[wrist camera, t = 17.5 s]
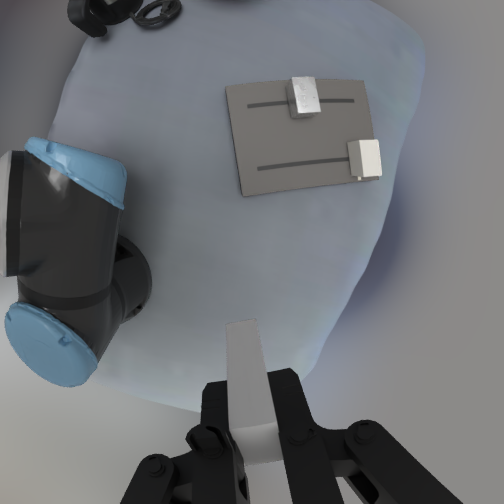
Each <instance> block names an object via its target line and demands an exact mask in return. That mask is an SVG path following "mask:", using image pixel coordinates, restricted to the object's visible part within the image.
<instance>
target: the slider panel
mask: <svg viewBox="0 0 504 504" xmlns="http://www.w3.org/2000/svg"><path fill="white" fill-rule="evenodd" d="M288 82H289V80H282V81H268V82H257V83H248V84H239V85H232V86H225V88H226V98H227V104H228V110H229V117H230V123H231V129H232V136H233V142H234V148H235V154H236V161H237V167H238V173H239V179H240V186H241V192H242V196H243V197H245V196H251V195H258V194H264V193H271V192H278V191H285V190H292V189H299V188H307V187H315V186H323V185H332V184H341V183H350V182H360V181H371V180H379V176H369V177H359V176H351V168H350V160H349V152H348V144H347V142H352V141H357V140H374V133H373V127H372V121H371V115H370V109H369V104H368V99H367V94H366V89H365V84H364V81H360V80H338V79H315V83H316V88H317V93H318V99H319V104H320V109H321V112H320V113H318V114H317V115H315V116H313V117H307V118H293V119H291V114H290V108H289V103H288V97H287V92H286V85H287V83H288Z"/></svg>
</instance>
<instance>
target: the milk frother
mask: <svg viewBox="0 0 504 504" xmlns="http://www.w3.org/2000/svg"><path fill="white" fill-rule="evenodd" d="M142 2H143V0H69V3H68V9H67V13H68V18H69V20H70V21H71V22H72V24H74V25H75V26H77V27H78V28H80V29H81V30H82V31H84V32H85V33H86V34H88V35H89V36H91V37H93V38H95V37H102V36H104V35H106V33H107V28H106V27H105V26H104V25H112V24H116V23H119V22H122V21H124V20H126V19H127V18H129V17H130V16H131V18H132V19H133V20H134V21H135V22H136V23H137V24H139V25H153V24H156V23H160V22H162V21H164V20H166V19H168V18H170V17H172V16H173V15H175V14H176V13H177V12H178V11H179V10H180V9H181V6H182V5H181V2H180V1H179V0H156V1H154V2H152V3H150V4H148V5H147V6H145V7H144V8H143V9H141V10H140V11H139V13H138V14H137V16H136V17H135V15H134V13H135V12H136V11H137V10H138V9H139V8H140V6H141V4H142ZM160 4H162V9H161V13H160V16H157V17H154V18H150V19H147V18H144V17H143V16H144V14H145V13H146V12H147V11H148V10H150V9H151V8H153V7H155V6H157V5H160ZM89 9H90V10H91V12H92V13H93V14H94V15H93V14H92V13H91V12H90V10H89ZM103 24H104V25H103Z"/></svg>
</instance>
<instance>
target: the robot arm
mask: <svg viewBox="0 0 504 504" xmlns="http://www.w3.org/2000/svg"><path fill="white" fill-rule="evenodd" d="M24 148H25V149H26V150H25V151H12V150H9V151H8V152H6V153H5V155H3V157H1V158H0V274H1V275H2V276H3V277H9V276H17V280H18V293H19V299H18V302H15V303H14V304H12V305H11V306H10V308H9V311H8V312H7V313H6V316H5V330H6V334H7V337H8V339H9V341H10V343H11V345H12V347H13V349H14V350H15V352H16V353H17V355H18V356H19V357H20V358H21V360H22V361H23V362H25V364H26V365H27V366H28V367H29V368H30V369H31V370H33V371H34V372H35V373H36V374H38V375H39V376H41V377H42V378H43V379H45V380H47V381H49V382H51V383H53V384H56V385H59V386H63V387H75V386H79V385H82V384H84V383H85V382H86V381H87V380H88V378H89V377H90V375H91V374H92V373H93V372H94V371H95V370H96V369H97V365H98V363H99V361H100V359H101V357H102V355H103V354H104V352H105V350H106V348H107V346H108V345H109V343H110V341H111V339H112V338H113V336H114V334H115V333H116V331H117V329H118V327H119V326H120V324H122V323H124V322H126V321H128V320H130V319H131V318H133V317H135V316H136V315H137V314H138V313H139V312H140V311H141V310H142V309H143V307H144V306H145V304H146V302H147V300H148V298H149V296H150V292H151V287H152V279H151V273H150V269H149V266H148V263H147V261H146V259H145V258H144V256H143V254H142V253H141V252H140V250H139V249H138V248H137V247H136V246H135V245H134V244H133V243H131V242H130V241H129V240H127V239H125V238H123V237H121V236H119V235H118V231H119V225H120V219H121V214H122V210H124V204H123V200H124V194H125V187H126V182H127V172H126V169H125V167H124V166H123V165H122V164H121V163H120V162H119V161H117V160H114V159H111V158H108V157H105V156H102V155H99V154H95V153H92V152H89V151H85V150H82V149H78V148H75V147H71V146H68V145H64V144H60V143H57V142H53V141H49V140H46V139H42V138H38V137H31V138H29V140H28V141H27V143H26V144H25V147H24ZM226 350H227V380H225V381H218V382H211V383H207V385H206V387H205V388H204V390H203V392H202V405H201V409H202V410H201V422H200V424H199V425H197V426H195V427H194V428H192V429H191V430H190V431H189V432H188V433H187V436H186V441H187V443H188V444H189V446H190V447H191V449H192V450H191V451H190V452H188V453H186V454H183V455H180V456H177V457H173V458H168V457H167V456H165V455H163V454H152V455H149V456H147V457H145V458H144V459H143V460H142V461H141V462H140V464H139V466H138V468H137V470H136V472H135V474H134V476H133V478H132V480H131V482H130V484H129V486H128V488H127V490H126V492H125V494H124V497H123V498H122V500H121V502H120V504H250V497H249V488H248V479H247V476H246V473H245V470H244V463H245V465H246V466H248V465H255V464H262V463H268V462H274V461H279V460H284V465H285V469H286V474H287V478H288V483H289V488H290V493H291V498H292V502H293V504H344V501H343V498H342V495H341V493H340V489H339V486H338V484H337V481H336V478H335V477H343V478H344V479H345V480H346V482H347V483H348V484H349V486H350V487H351V488H352V490H353V491H354V492H355V493H356V495H357V496H358V497H359V498H360V500H361V501H362V502H363V503H364V504H463V503H462V502H461V501H460V500H459V499H458V498H457V497H455V496H454V495H453V494H452V493H451V492H450V491H449V490H448V489H447V488H445V487H444V485H442V484H441V483H440V482H439V481H438V480H437V479H436V478H435V477H434V476H433V475H432V474H431V473H430V472H429V471H428V470H427V469H425V468H424V467H423V466H422V465H421V464H420V463H419V462H418V461H417V460H416V459H415V458H414V457H413V456H412V455H411V454H410V453H409V452H408V451H407V450H406V449H405V448H404V447H403V446H402V445H401V444H400V443H399V442H398V441H396V440H395V438H394V437H393V436H392V435H391V434H390V433H389V432H388V431H387V430H385V429H384V427H382V425H380V424H379V423H377V422H376V421H372V420H360V421H358V422H355V423H353V424H352V425H351V426H349V427H348V429H340V430H332V429H331V430H330V429H325V428H322V427H321V426H319V425H317V424H316V423H315V422H314V420H313V418H312V416H311V412H310V409H309V406H308V404H307V401H306V398H305V395H304V392H303V389H302V386H301V383H300V380H299V377H298V374H296V373H295V372H294V371H293V370H292V369H291V368H287V369H282V370H277V371H272V372H266V367H265V362H264V357H263V352H262V347H261V342H260V337H259V333H258V328H257V323H256V319H251V320H245V321H240V322H235V323H229V324H226Z"/></svg>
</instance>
